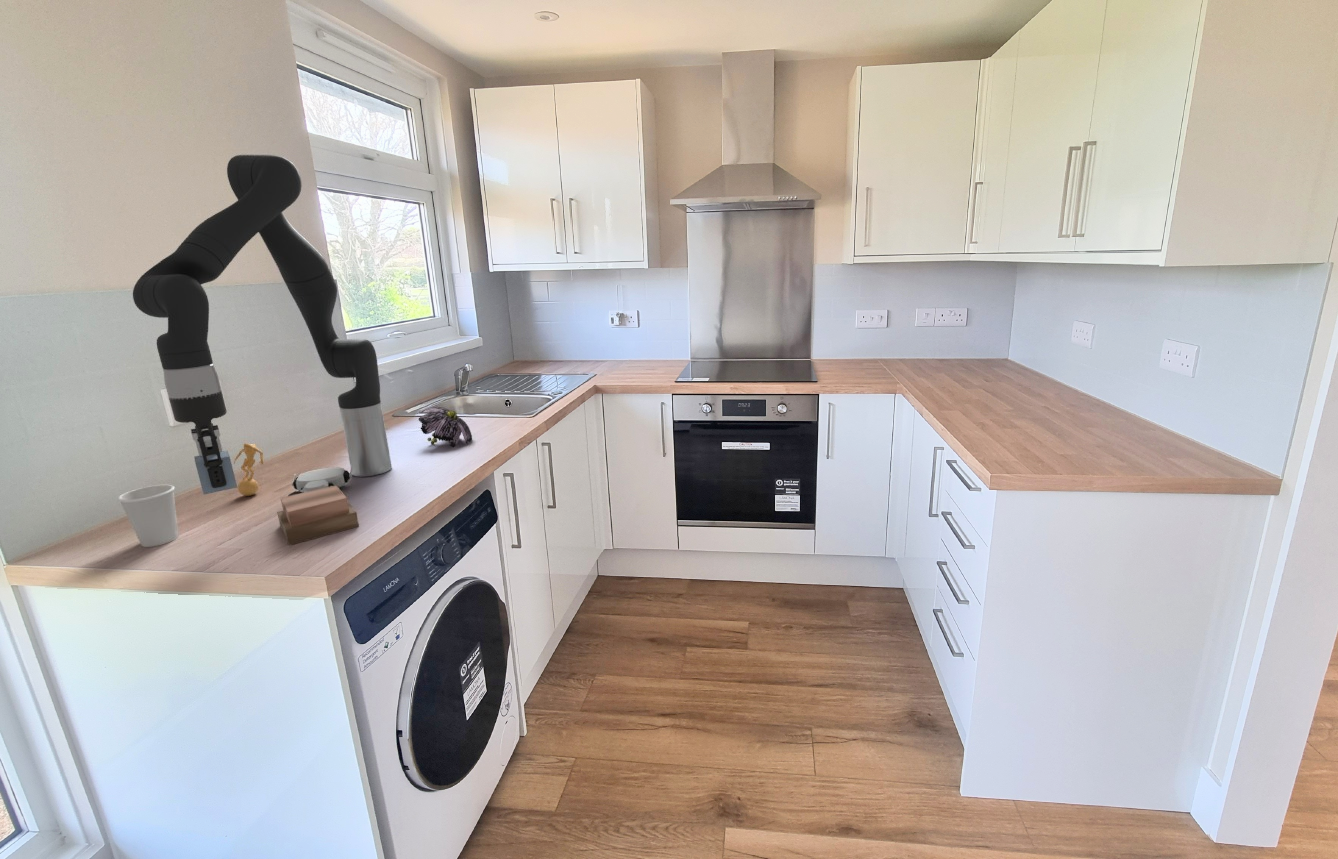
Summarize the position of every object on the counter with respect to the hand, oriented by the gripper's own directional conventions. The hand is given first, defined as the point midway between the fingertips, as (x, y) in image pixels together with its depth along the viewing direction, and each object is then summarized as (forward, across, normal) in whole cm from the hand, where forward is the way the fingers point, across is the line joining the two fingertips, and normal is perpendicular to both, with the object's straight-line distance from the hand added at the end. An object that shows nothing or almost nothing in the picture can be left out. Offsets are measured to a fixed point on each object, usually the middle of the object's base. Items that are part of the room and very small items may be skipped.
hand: (218, 482), depth 112 cm
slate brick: (+1, 0, 0) cm, 1 cm away
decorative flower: (+13, +39, -54) cm, 68 cm away
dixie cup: (+13, +13, +11) cm, 21 cm away
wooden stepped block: (+12, -2, -14) cm, 19 cm away
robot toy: (+13, +18, -18) cm, 28 cm away
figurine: (+13, +31, -6) cm, 34 cm away
